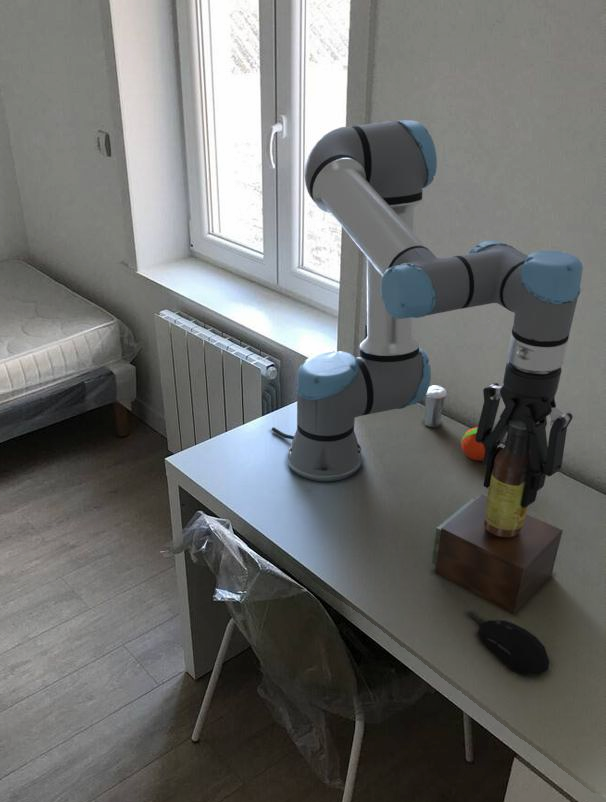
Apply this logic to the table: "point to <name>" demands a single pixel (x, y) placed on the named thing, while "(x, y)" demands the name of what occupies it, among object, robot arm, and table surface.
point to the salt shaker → (434, 405)
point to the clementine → (472, 445)
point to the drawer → (438, 529)
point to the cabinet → (497, 557)
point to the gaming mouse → (514, 646)
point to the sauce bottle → (509, 483)
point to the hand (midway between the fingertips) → (508, 493)
